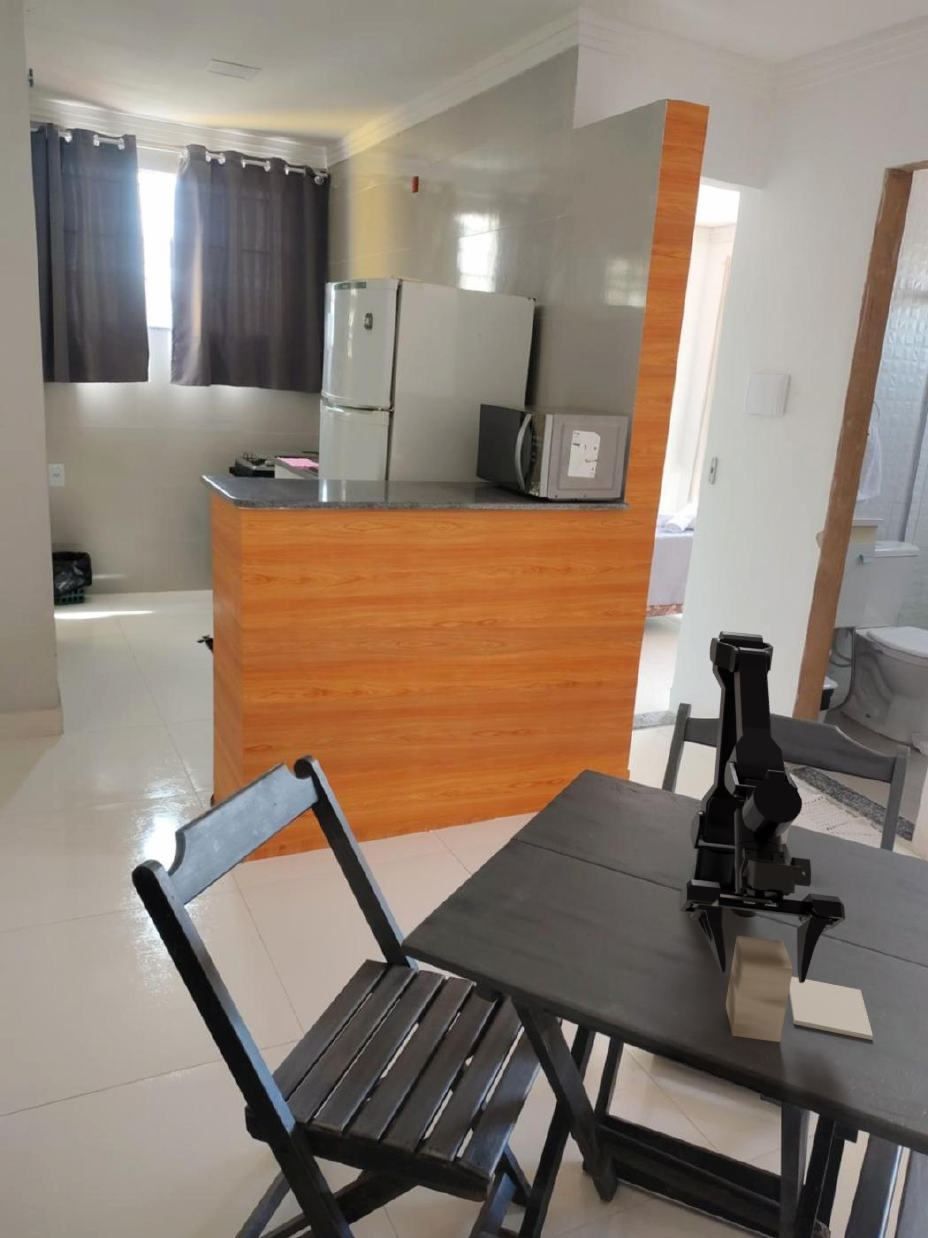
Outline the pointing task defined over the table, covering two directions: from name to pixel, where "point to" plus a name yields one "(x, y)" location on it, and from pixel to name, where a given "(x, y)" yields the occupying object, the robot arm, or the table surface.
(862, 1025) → the cream tile
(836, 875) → the table surface
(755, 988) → the brass block
